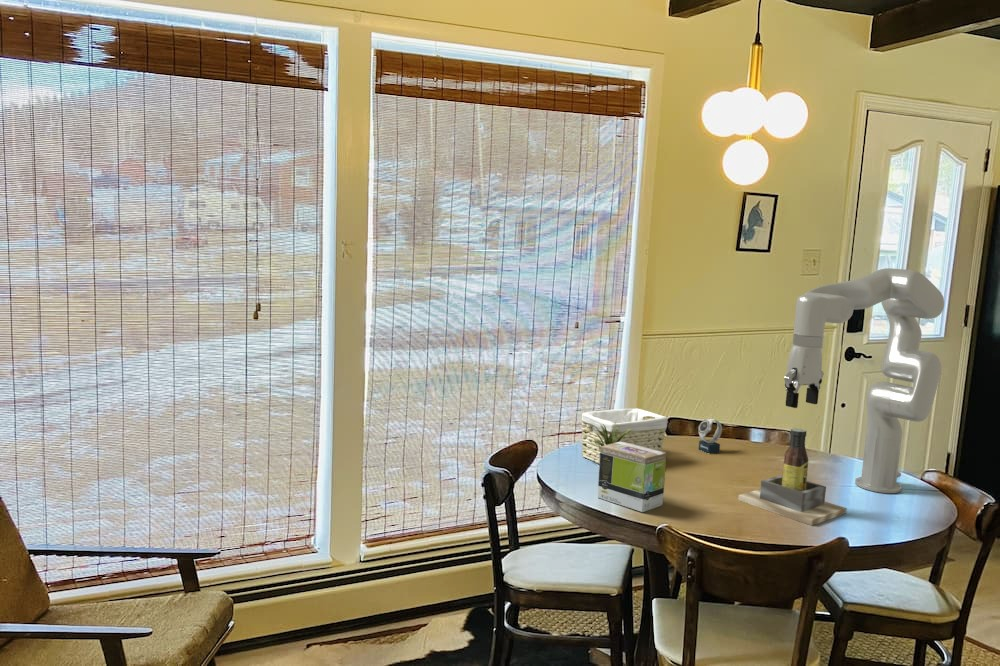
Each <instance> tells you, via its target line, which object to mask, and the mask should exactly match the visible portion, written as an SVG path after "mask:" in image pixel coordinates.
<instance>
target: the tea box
mask: <svg viewBox="0 0 1000 666" xmlns="http://www.w3.org/2000/svg"><path fill="white" fill-rule="evenodd" d="M666 460H667V452H665V451H663V450H661V451H658V450H654V449H650V448H646V447H642V446H639V445H634V444H630V443H626V442H622V441H621V442H617V443H613V444H608V445H604V446H601V450H600V464H599V467H598V468H599V470H598V481H597V482H598V484H597V485H598V486H597V498H598V499H601V500H603V501H604V500H605V501H606V502H607V501H608V502H610V503H613V504H617V505H620V506H623V507H624V508H625V507H626V508H629V509H632V510H635V511H638V512H640V513H644V512H647V511H650V510H653V509H656V508H659V507H662V506H663V504H664V503H663V502H664V494H665V493H664V491H665V481H666V479H665V478H666V477H665V476H666V464H667V463H666V462H667V461H666Z"/></svg>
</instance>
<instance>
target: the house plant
mask: <svg viewBox="0 0 1000 666" xmlns="http://www.w3.org/2000/svg"><path fill="white" fill-rule="evenodd" d="M588 424H589V423H588ZM591 425H592V424H591ZM600 425H601V424H600ZM603 425H604V424H603ZM614 425H615V424H614ZM593 426H594V425H593ZM595 427H596V426H595ZM596 428H597V427H596ZM601 428H602V430H603V433H604V434H603V433H602V432H601V431H599V430H598V428H597V431H599V433H600V434H602V435H601V436H603V437H602V438H603V440H604V442H606V443H605V444H606V445H608V444H613V443H615V441H616V437H617V434H618V426H617V428H616V431H615V432H614V433H615V435H614V433H613V429H612V433H613V435H614V438H613V435H612V433H611V435H610V436H609V438H608V434H607V430H606V427H605V425H604V427H603V426H602V425H601ZM604 428H605V429H604ZM613 428H614V426H613ZM619 428H620V427H619ZM631 429H633V428H630V429H628V430H626V431H625V432H624V433H623V434H622V435H621V436H620V437H619V438H618V440H617V442H620V440H621V439H622V438H623V437H624V436H625V435H626V434H628V433H627V432H628V431H629V430H631ZM596 434H597V433H596ZM597 435H598V434H597ZM598 436H599V435H598ZM599 438H600V440H601V442H602V443H601V442H600V441H599V440H594V441H593V442H596V443H599V444H597V445H598V446H599V450H600V449H601V446H604V443H603V441H602V439H601V437H600V436H599ZM617 442H616V443H617ZM626 443H628V442H626ZM600 445H601V446H600ZM599 465H600V453H599Z"/></svg>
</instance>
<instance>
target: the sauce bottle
mask: <svg viewBox="0 0 1000 666" xmlns="http://www.w3.org/2000/svg"><path fill="white" fill-rule="evenodd" d="M789 434H790V442H789V447H788V448H787V449H786V450H785V453H784V460H783V465H782V474H781V475H782V486H785V487H788V488H791V489H794V490H797V491H801V492H802V491H805V490H806V482H807V481H808V469H809V457H808V453H807V450H806V437H807V430H806V429H803V428H790V433H789Z"/></svg>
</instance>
